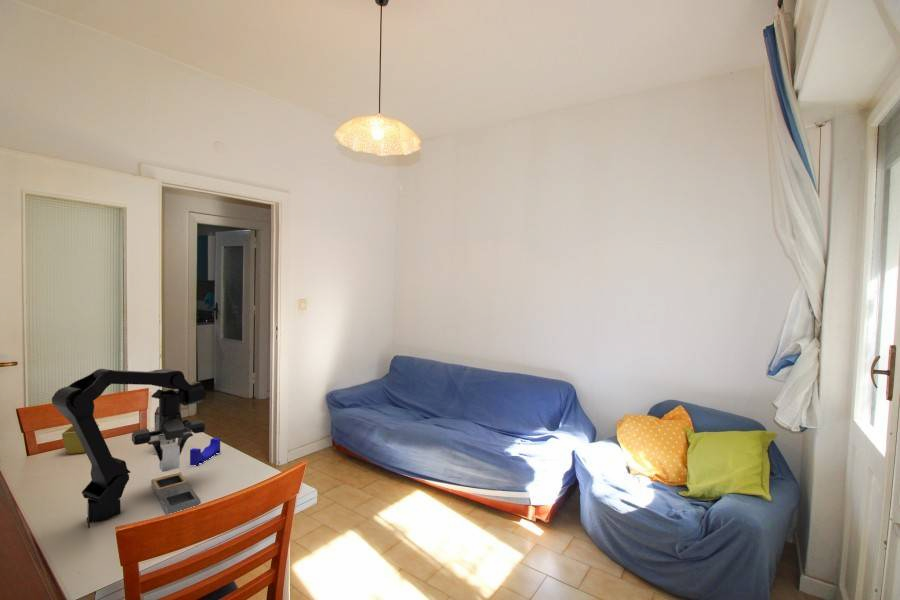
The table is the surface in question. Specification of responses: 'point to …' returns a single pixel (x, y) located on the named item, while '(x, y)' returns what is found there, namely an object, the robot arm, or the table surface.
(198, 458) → the blue notched block
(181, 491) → the slotted holder
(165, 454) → the light grey block
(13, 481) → the table surface
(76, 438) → the flower pot
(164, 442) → the coffee box
